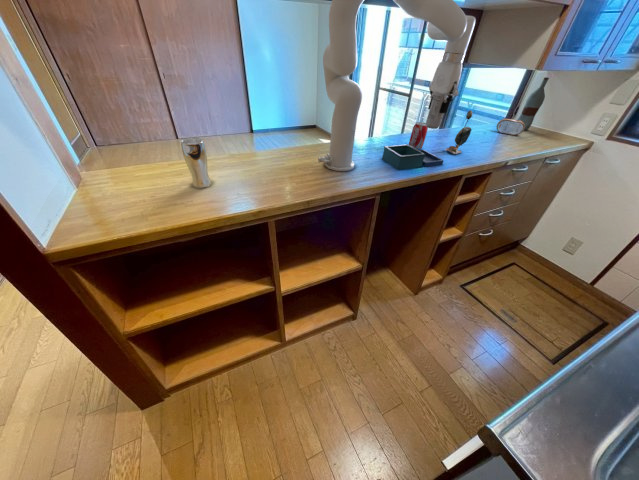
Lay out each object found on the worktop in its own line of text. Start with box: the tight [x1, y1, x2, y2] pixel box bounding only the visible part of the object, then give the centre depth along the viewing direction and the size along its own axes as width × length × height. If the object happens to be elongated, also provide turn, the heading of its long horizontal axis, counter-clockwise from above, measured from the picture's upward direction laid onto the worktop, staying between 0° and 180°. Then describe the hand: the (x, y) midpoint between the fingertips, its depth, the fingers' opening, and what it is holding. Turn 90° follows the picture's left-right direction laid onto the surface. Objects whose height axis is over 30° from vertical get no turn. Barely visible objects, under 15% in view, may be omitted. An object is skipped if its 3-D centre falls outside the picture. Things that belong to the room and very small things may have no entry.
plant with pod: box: [445, 110, 474, 155], centre depth 128 cm, size 8×11×20 cm
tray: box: [419, 149, 445, 168], centre depth 122 cm, size 10×14×2 cm
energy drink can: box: [425, 92, 450, 130], centre depth 109 cm, size 6×6×15 cm
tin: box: [496, 118, 525, 136], centre depth 164 cm, size 15×3×8 cm, turn 58°
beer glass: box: [180, 137, 212, 189], centre depth 88 cm, size 7×7×15 cm
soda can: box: [408, 121, 429, 150], centre depth 132 cm, size 7×7×12 cm
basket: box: [381, 143, 426, 171], centre depth 117 cm, size 13×13×6 cm
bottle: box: [516, 76, 550, 132], centre depth 169 cm, size 9×9×30 cm
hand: (437, 110), depth 109 cm, fingers closed on energy drink can, 6 cm apart
